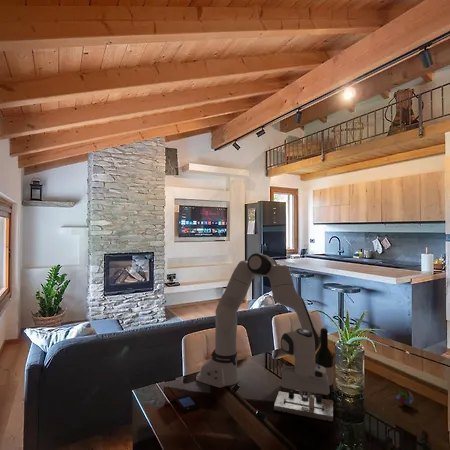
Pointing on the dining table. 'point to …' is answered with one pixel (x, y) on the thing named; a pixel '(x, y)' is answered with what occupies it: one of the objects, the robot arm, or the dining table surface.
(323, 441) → the dining table surface
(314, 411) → the console
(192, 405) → the handheld game console
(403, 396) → the geometric puzzle
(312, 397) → the fader
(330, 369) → the wine bottle
